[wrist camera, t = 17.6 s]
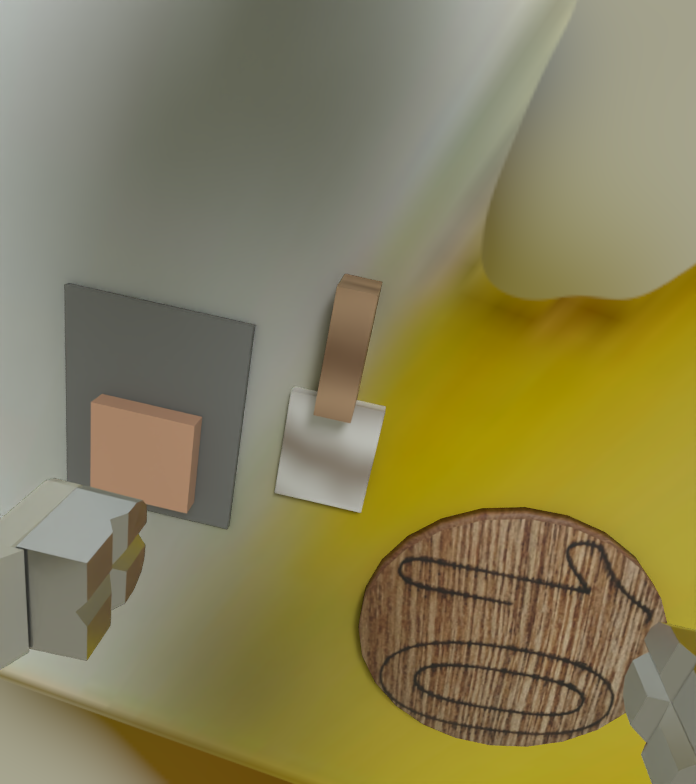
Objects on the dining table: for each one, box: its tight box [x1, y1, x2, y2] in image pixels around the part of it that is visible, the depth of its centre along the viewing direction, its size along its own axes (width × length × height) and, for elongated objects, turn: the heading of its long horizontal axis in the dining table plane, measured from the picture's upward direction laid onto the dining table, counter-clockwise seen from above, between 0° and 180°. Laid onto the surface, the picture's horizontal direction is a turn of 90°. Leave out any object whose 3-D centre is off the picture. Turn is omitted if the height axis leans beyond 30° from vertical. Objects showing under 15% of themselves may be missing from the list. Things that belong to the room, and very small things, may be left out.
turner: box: [275, 274, 386, 513], centre depth 40 cm, size 18×7×4 cm, turn 169°
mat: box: [64, 283, 255, 529], centre depth 44 cm, size 18×14×1 cm
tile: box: [90, 394, 202, 514], centre depth 44 cm, size 2×8×8 cm
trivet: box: [359, 507, 667, 746], centre depth 48 cm, size 25×25×2 cm
